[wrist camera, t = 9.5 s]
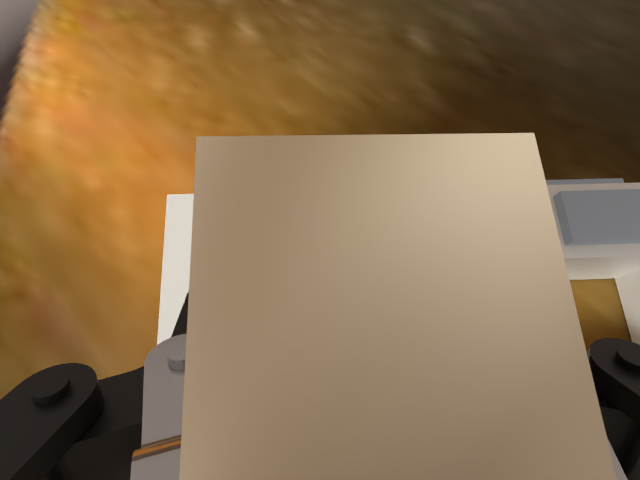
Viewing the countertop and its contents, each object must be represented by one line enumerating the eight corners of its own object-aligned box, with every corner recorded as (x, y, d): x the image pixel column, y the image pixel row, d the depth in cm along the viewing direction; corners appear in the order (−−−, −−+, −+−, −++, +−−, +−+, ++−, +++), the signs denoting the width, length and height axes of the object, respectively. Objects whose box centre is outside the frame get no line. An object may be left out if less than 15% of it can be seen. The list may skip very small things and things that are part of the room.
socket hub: (643, 207, 21) (732, 163, 17) (733, 493, 17) (878, 531, 13) (193, 220, 20) (163, 176, 15) (178, 535, 16) (134, 594, 11)
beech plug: (369, 304, 16) (534, 132, 5) (378, 414, 15) (625, 515, 4) (265, 308, 16) (196, 136, 5) (266, 420, 15) (175, 549, 4)
